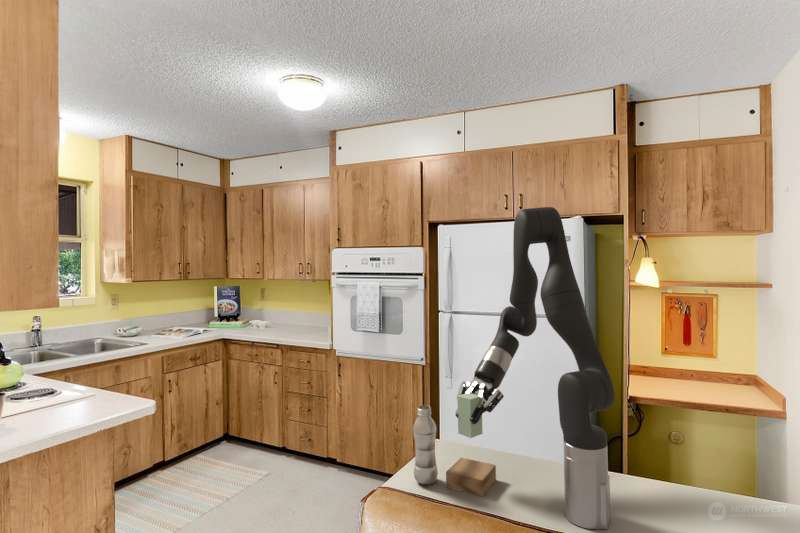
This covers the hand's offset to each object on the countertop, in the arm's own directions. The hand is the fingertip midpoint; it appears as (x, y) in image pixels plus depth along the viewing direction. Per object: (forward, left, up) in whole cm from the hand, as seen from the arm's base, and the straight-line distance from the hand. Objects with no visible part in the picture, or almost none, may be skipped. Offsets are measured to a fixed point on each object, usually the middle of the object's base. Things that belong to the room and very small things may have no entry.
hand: (465, 419), depth 118 cm
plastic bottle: (+10, +3, -18) cm, 21 cm away
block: (-1, -2, -4) cm, 5 cm away
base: (-1, -2, -17) cm, 17 cm away
